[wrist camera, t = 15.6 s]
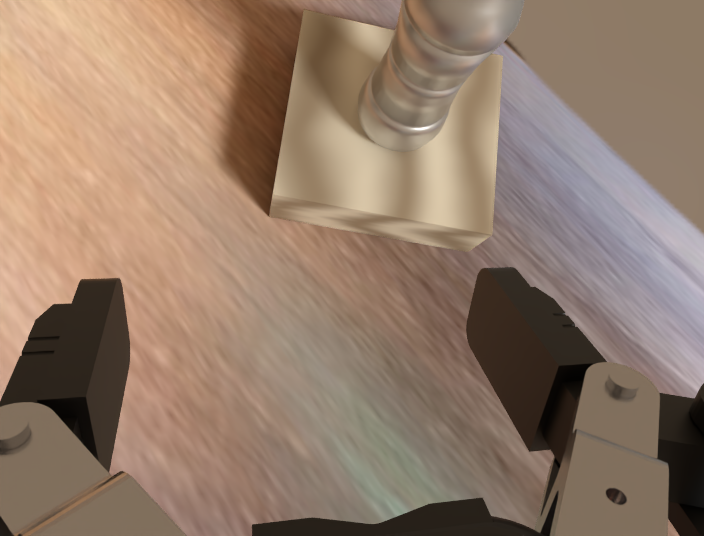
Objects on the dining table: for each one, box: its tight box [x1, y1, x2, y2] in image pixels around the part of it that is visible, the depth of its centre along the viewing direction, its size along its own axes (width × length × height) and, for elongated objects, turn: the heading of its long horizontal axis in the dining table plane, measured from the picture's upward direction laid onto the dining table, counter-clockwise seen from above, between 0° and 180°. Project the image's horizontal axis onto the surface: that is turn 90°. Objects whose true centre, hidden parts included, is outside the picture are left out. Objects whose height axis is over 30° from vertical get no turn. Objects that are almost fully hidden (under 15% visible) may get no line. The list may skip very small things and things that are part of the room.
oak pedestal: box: [269, 9, 503, 252], centre depth 49 cm, size 17×16×5 cm
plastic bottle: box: [357, 0, 524, 152], centre depth 36 cm, size 6×7×20 cm
